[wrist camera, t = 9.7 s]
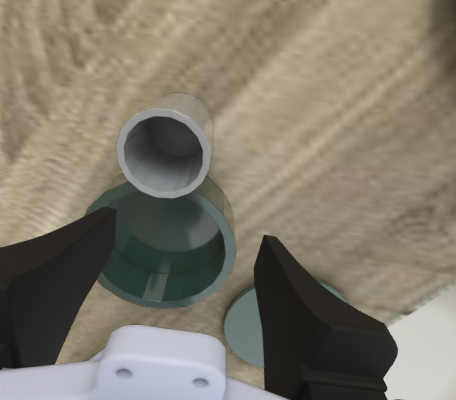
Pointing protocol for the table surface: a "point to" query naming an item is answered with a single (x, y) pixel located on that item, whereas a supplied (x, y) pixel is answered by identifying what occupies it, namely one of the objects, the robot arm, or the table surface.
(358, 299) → the table surface
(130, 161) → the gray cylindrical cup
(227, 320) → the pot lid
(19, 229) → the table surface
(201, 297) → the pot
